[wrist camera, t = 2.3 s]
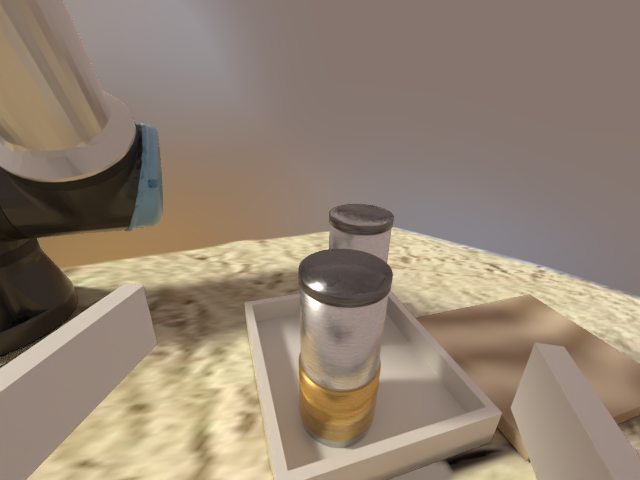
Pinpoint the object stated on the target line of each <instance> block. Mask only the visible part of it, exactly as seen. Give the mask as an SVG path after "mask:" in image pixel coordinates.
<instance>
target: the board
mask: <svg viewBox="0 0 640 480" xmlns="http://www.w3.org/2000/svg"><path fill="white" fill-rule="evenodd" d="M416 319H417V320H418V321H419V323H420V324H421V325H422V326H423V327H424V328H425V329H426V330H427V331H428V332H429V334H430V335H431V336H432V337H433V338H434V339H435V340H436V341H437V342H438V343H439V344H440V346H441V347H442V348H443V349H444V350H445V351H446V352H447V353H448V354H449V355H450V356H451V358H452V359H453V360H454V361H455V362H456V363H457V364H458V365H459V366H460V367H461V368H462V370H463V371H464V372H465V373H466V374H467V375H468V376H469V377H470V378H471V379H472V380H473V382H474V383H475V384H476V385H477V386H478V387H479V388H480V389H481V390H482V391H483V393H484V394H485V395H486V396H487V397H488V398H489V399H490V400H491V401H492V402H493V403H494V405H495V406H496V407H497V408H498V409H499V410H500V411H501V412H502V415H501V417H500V420H499V423H498V425H497V428H498V429H499V430H500V431H501V432H502V433H503V435H504V436H505V437H506V438H507V439H508V440H509V441H510V443H511V444H512V445H513V446H514V447H515V448H516V450H517V451H518V452H519V453H520V454H521V455H522V457H523V458H524V459H525V460H526V461H527V460H530V459H529V456H528V453H527V451H526V448H525V445H524V443H523V440H522V437H521V435H520V432H519V429H518V427H517V424H516V421H515V419H514V416H513V413H512V411H511V406H512V403H513V400H514V398H515V395H516V392H517V389H518V387H519V384H520V381H521V379H522V376H523V373H524V371H525V368H526V365H527V363H528V360H529V357H530V354H531V352H532V349H533V346H534V344H535V342H536V343H542V344H549V345H556V346H563V347H565V349H566V350H567V352H568V353H569V354H570V356H571V357H572V359H573V360H574V362H575V363H576V365H577V366H578V368H579V369H580V371H581V372H582V374H583V375H584V376H585V378H586V379H587V381H588V382H589V384H590V385H591V387H592V388H593V390H594V391H595V393H596V394H597V396H598V397H599V398H600V400H601V401H602V403H603V404H604V406H605V407H606V409H607V410H608V412H609V413H610V415H611V416H612V418H613V419H614V420H615V422H616V423H617V424H619V423H621V422H624V421H626V420H629V419H631V418H634V417H636V416H639V415H640V364H639V363H637V362H635V361H634V360H632V359H631V358H629V357H628V356H626V355H624V354H623V353H621V352H620V351H618V350H617V349H615V348H613V347H612V346H610V345H609V344H607V343H606V342H604V341H602V340H601V339H599V338H598V337H596V336H594V335H593V334H591V333H590V332H588V331H587V330H585V329H583V328H582V327H580V326H579V325H577V324H576V323H574V322H572V321H571V320H569V319H568V318H566V317H565V316H563V315H561V314H560V313H558V312H557V311H555V310H553V309H552V308H550V307H549V306H547V305H546V304H544V303H542V302H541V301H539V300H538V299H536V298H535V297H533V296H531V295H530V294H529V295H524V296H519V297H514V298H509V299H505V300H500V301H495V302H490V303H485V304H481V305H476V306H471V307H466V308H461V309H457V310H452V311H447V312H442V313H438V314H433V315H428V316H423V317H418V318H416Z"/></svg>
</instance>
